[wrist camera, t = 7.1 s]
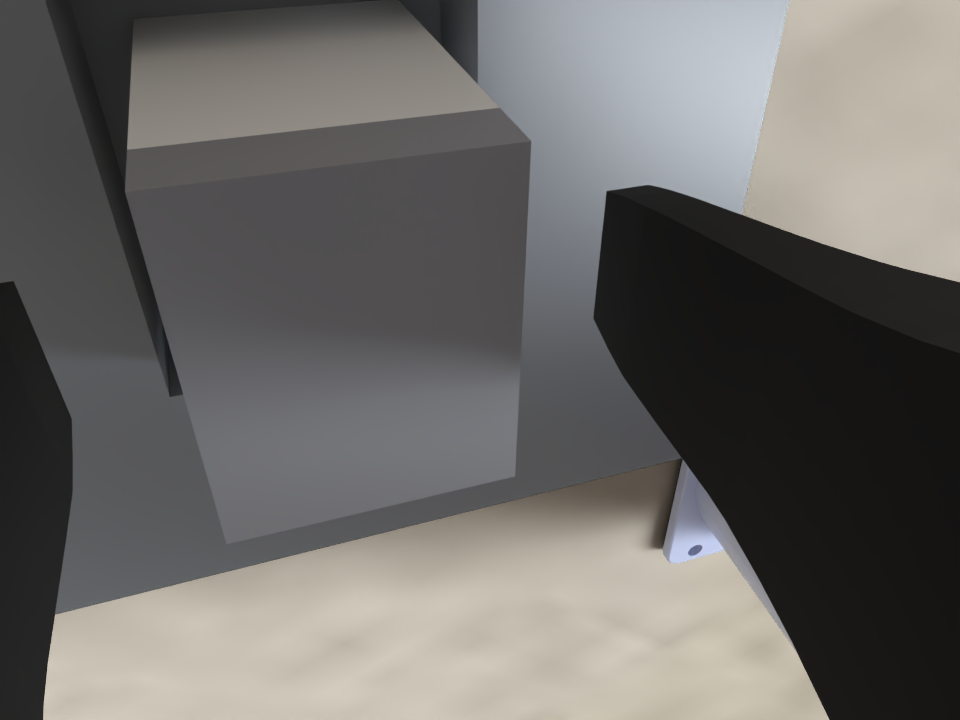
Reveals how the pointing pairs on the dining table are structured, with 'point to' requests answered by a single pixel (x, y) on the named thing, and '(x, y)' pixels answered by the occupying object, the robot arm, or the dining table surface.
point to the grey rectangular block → (330, 256)
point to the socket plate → (548, 269)
